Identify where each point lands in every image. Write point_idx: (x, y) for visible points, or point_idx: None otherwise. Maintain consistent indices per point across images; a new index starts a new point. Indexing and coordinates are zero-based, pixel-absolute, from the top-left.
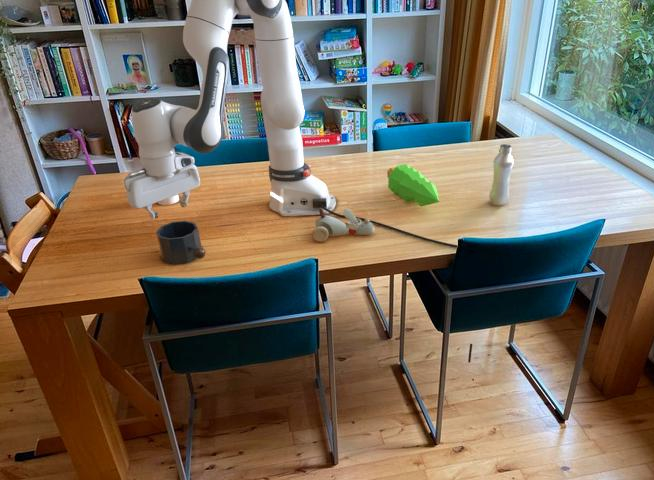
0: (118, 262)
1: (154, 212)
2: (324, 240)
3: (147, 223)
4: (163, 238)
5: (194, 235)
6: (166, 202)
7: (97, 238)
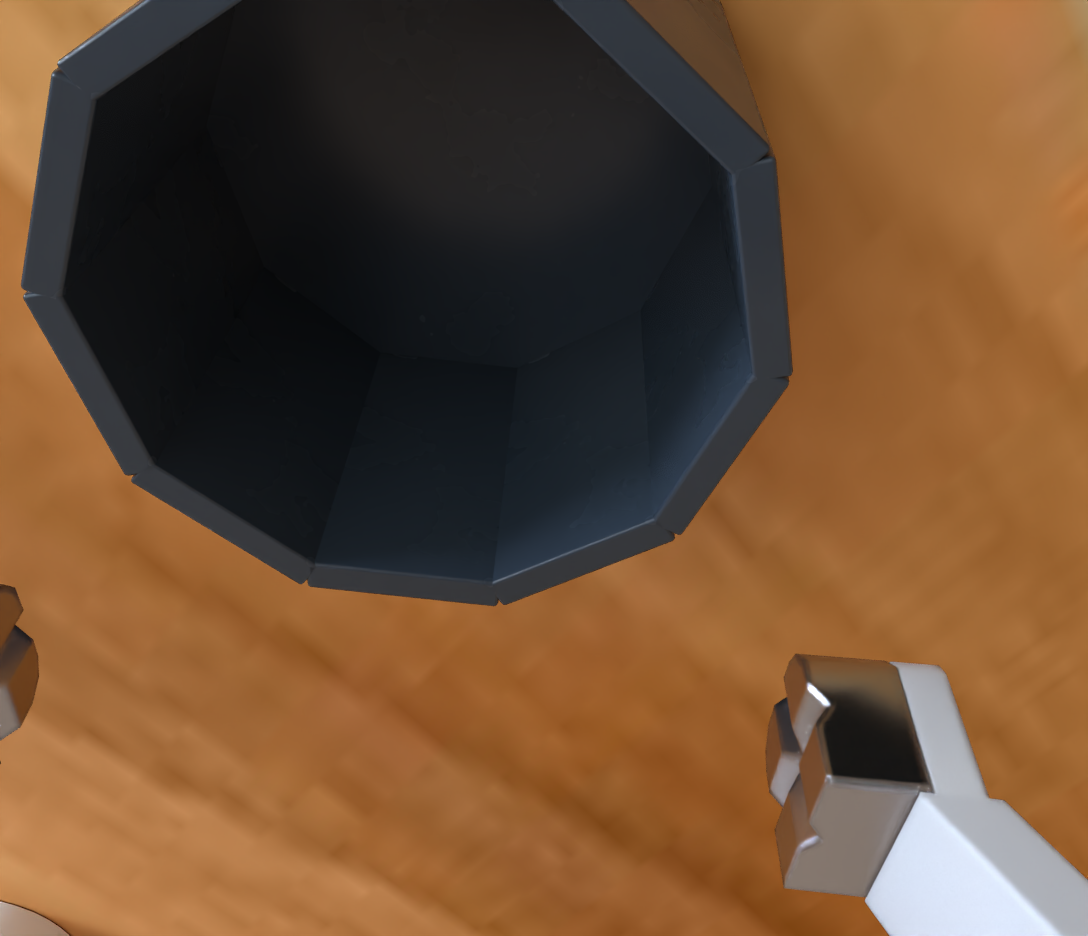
0: (977, 556)
1: (895, 805)
2: None
3: (320, 830)
4: (783, 285)
5: None
6: (23, 933)
7: (728, 905)
